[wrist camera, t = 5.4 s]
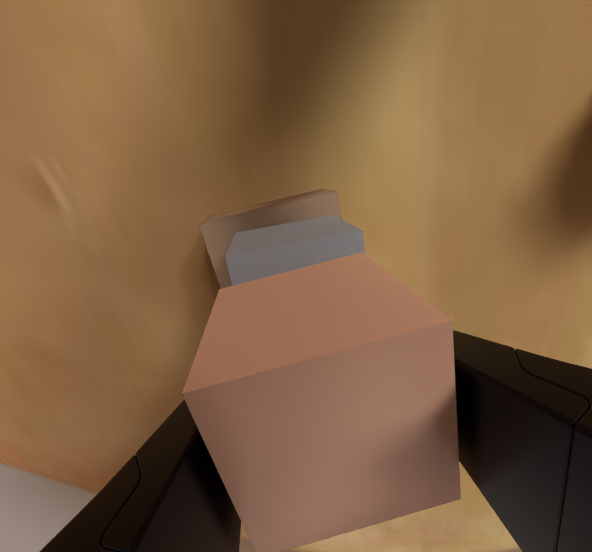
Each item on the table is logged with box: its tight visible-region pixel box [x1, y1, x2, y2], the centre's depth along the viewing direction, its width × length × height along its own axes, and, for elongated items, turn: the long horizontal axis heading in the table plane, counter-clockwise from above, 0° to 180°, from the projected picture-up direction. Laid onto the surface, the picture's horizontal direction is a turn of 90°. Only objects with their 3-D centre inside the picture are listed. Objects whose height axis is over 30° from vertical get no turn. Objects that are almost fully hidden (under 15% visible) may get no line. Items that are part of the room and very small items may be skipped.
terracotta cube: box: [182, 253, 461, 552], centre depth 8 cm, size 4×4×4 cm
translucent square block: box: [199, 189, 342, 289], centre depth 17 cm, size 7×7×4 cm
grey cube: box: [225, 215, 365, 286], centre depth 13 cm, size 5×5×4 cm
